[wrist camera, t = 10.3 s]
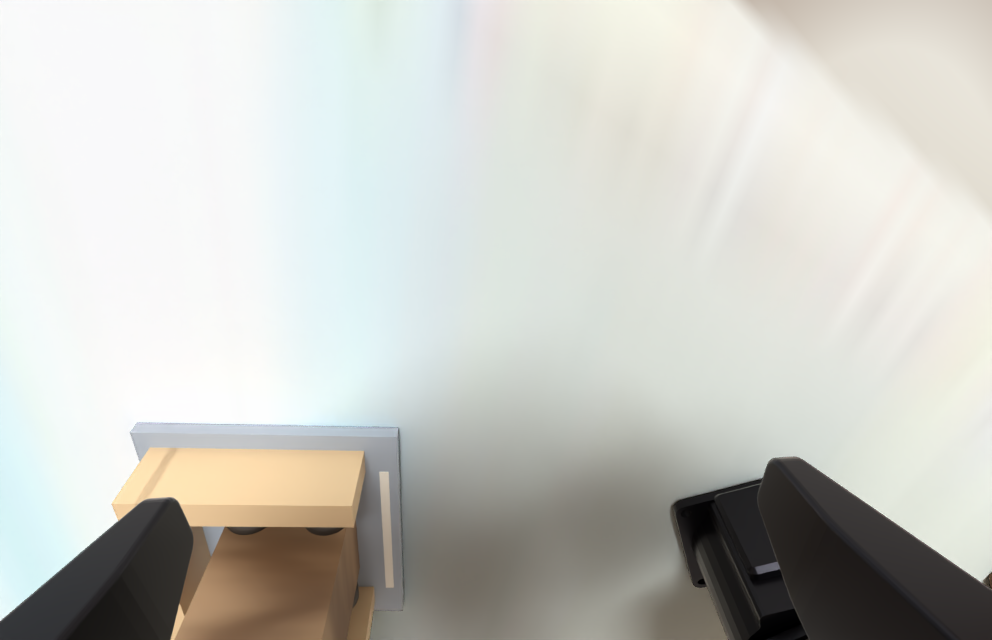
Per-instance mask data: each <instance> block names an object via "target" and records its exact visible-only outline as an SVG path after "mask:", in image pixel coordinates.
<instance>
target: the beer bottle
mask: <svg viewBox="0 0 992 640" xmlns="http://www.w3.org/2000/svg"><path fill="white" fill-rule="evenodd" d="M989 582H990V588H991V590H992V573H991V574H990V575H989Z"/></svg>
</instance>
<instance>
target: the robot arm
mask: <svg viewBox="0 0 992 640" xmlns="http://www.w3.org/2000/svg"><path fill="white" fill-rule="evenodd" d="M673 511H674V515H675V519H676V523H677V527H678V531H679V535H680V539H681V542H682V546H683V550H684V554H685V558H686V562H687V566H688V570H689V574H690V577H691V580H692V583H693V585H694V586H695V587H699V588H702V587H707V588H708V590H709V593H710V595H711V598H712V600H713V603H714V605H715V608H716V610H717V613H718V616H719V618H720V621H721V623H722V626H723V628H724V631H725V633H726V636H727V638H728V640H992V590H991V589H990V588H988V587H987V586H986V585H984V584H983V583H981V582H980V581H978V580H977V579H975V578H974V577H973V576H971V575H970V574H968V573H967V572H965V571H964V570H962V569H961V568H959V567H958V566H957V565H955V564H954V563H952V562H951V561H949V560H948V559H946V558H945V557H944V556H942V555H941V554H939V553H938V552H936V551H935V550H933V549H932V548H930V547H929V546H928V545H926V544H925V543H923V542H922V541H920V540H919V539H917V538H916V537H914V536H913V535H912V534H910V533H909V532H907V531H906V530H904V529H903V528H901V527H900V526H899V525H897V524H896V523H894V522H893V521H891V520H890V519H888V518H887V517H885V516H884V515H883V514H881V513H880V512H878V511H877V510H875V509H874V508H872V507H871V506H870V505H868V504H867V503H865V502H864V501H862V500H861V499H859V498H858V497H856V496H855V495H854V494H852V493H851V492H849V491H848V490H846V489H845V488H843V487H842V486H840V485H839V484H838V483H836V482H835V481H833V480H832V479H830V478H829V477H827V476H826V475H825V474H823V473H822V472H820V471H819V470H817V469H816V468H814V467H813V466H811V465H810V464H809V463H807V462H806V461H804V460H803V459H801V458H798V457H779V458H772V459H771V460H770V461H769V462H768V464H767V467H766V470H765V473H764V476H763V479H762V480H759V481H755V482H751V483H747V484H743V485H739V486H736V487H732V488H728V489H724V490H720V491H716V492H712V493H708V494H704V495H701V496H697V497H693V498H689V499H685V500H681V501H679V502H677V503H676V504H675V505H674V507H673ZM193 542H194V538H193V532H192V529H191V527H190V525H189V523H188V521H187V519H186V516H185V514H184V512H183V510H182V508H181V506H180V503H179V502H178V500H176V499H175V498H173V497H162V498H149V499H145V500H143V501H142V502H140V503H139V504H138V505H136V506H135V507H134V508H133V509H132V510H131V511H129V512H128V513H127V514H126V515H125V516H123V517H122V518H121V519H120V520H119V521H118V522H116V523H115V524H114V525H113V526H112V527H110V528H109V529H108V530H107V531H106V532H105V533H103V534H102V535H101V536H100V537H99V538H98V539H96V540H95V541H94V542H93V543H92V544H90V545H89V546H88V547H87V548H86V549H85V550H83V551H82V552H81V553H80V554H79V555H78V556H76V557H75V558H74V559H73V560H72V561H70V562H69V563H68V564H67V565H66V566H65V567H63V568H62V569H61V570H60V571H59V572H58V573H56V574H55V575H54V576H53V577H52V578H50V579H49V580H48V581H47V582H46V583H45V584H43V585H42V586H41V587H40V588H39V589H37V590H36V591H35V592H34V593H33V594H32V595H30V596H29V597H28V598H27V599H26V600H25V601H23V602H22V603H21V604H20V605H19V606H17V607H16V608H15V609H14V610H13V611H12V612H10V613H9V614H8V615H7V616H6V617H5V618H3V619H2V620H1V621H0V640H171V636H172V632H173V628H174V624H175V620H176V616H177V612H178V608H179V603H180V599H181V595H182V591H183V587H184V583H185V579H186V574H187V570H188V566H189V562H190V558H191V554H192V550H193Z"/></svg>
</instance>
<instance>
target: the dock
mask: <svg viewBox="0 0 992 640" xmlns="http://www.w3.org/2000/svg"><path fill="white" fill-rule="evenodd" d="M130 434H131V437H132V440H133V443H134V446H135V449H136V452H137V455H138V458H139V461H140V463H139V464H138V466H137V467H136V469H135V470H134V472H133V473H132V474H131V476H130V477H129V479H128V480H127V482H126V483H125V485H124V486H123V488H122V489H121V491H120V492H119V494H118V495H117V497H116V498H115V499H114V501H113V502H112V506H113V509H114V511H115V514H116V516H117V519H118V521H119V520H120V519H121V518H122V517H123V516H125V515H126V514H127V513H128V512H129V511H131V510H132V509H133V508H134V507H135V506H136V505H138V504H139V503H140V502H142V501H143V500H145V499H149V498H162V497H173V498H175V499H176V500H178V502H179V503H180V506H181V508H182V510H183V512H184V514H185V516H186V519H187V521H188V523H189V525H190V527H191V529H192V532H193V538H194V542H193V550H192V554H191V558H190V562H189V566H188V570H187V574H186V579H185V583H184V587H183V591H182V595H181V599H180V603H179V608H178V612H177V616H176V620H175V624H174V628H173V632H172V636H171V640H175V637H176V635H177V633H178V631H179V628H180V626H181V624H182V622H183V619H184V617H185V615H186V613H187V610H188V608H189V606H190V604H191V601H192V599H193V597H194V595H195V592H196V590H197V588H198V586H199V583H200V581H201V579H202V577H203V574H204V572H205V570H206V568H207V565H208V563H209V561H210V559H211V556H212V554H213V552H214V550H215V547H216V545H217V543H218V541H219V538H220V536H221V534H222V532H223V529H224V527H351V528H354V525H355V520H356V527H357V539H358V551H359V562H360V570H359V575H358V580H357V582H358V588H359V598H358V601H357V603H356V605H355V606H354V608H353V609H352V613H351V619H350V624H349V629H348V635H347V640H369V638H370V631H371V625H372V618H373V611H403V602H404V593H403V562H402V530H401V499H400V467H399V436H398V428H387V427H334V426H281V425H227V424H174V423H137V424H136V425H135V426H134V428H133V429H132V430H131V432H130Z"/></svg>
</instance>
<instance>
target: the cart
mask: <svg viewBox="0 0 992 640" xmlns="http://www.w3.org/2000/svg"><path fill="white" fill-rule="evenodd" d="M359 570H360V562H359V551H358V539H357V527H356V520H355V525H354V528H351V527H224V529H223V532H222V534H221V536H220V538H219V541H218V543H217V545H216V547H215V550H214V552H213V554H212V556H211V559H210V561H209V563H208V565H207V568H206V570H205V572H204V574H203V577H202V579H201V581H200V583H199V586H198V588H197V590H196V592H195V595H194V597H193V599H192V601H191V604H190V606H189V608H188V610H187V613H186V615H185V617H184V619H183V622H182V624H181V626H180V628H179V631H178V633H177V635H176V637H175V640H347V635H348V629H349V624H350V619H351V613H352V609H353V608H354V606H355V605H356V603H357V601H358V598H359V588H358V582H357V580H358V575H359Z"/></svg>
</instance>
